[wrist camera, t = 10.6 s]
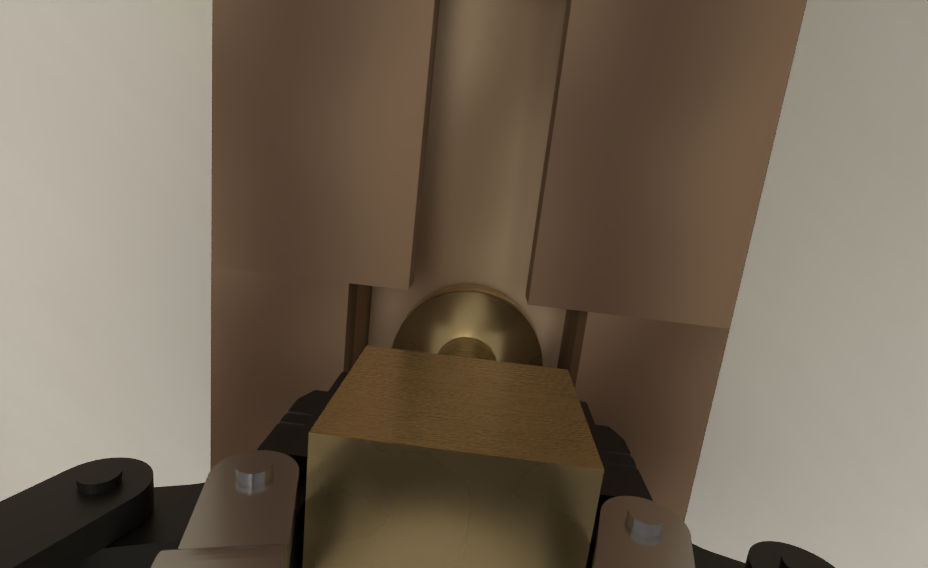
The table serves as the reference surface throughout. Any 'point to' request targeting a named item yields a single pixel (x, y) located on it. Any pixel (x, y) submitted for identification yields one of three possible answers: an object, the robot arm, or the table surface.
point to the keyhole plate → (491, 193)
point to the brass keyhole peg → (453, 448)
